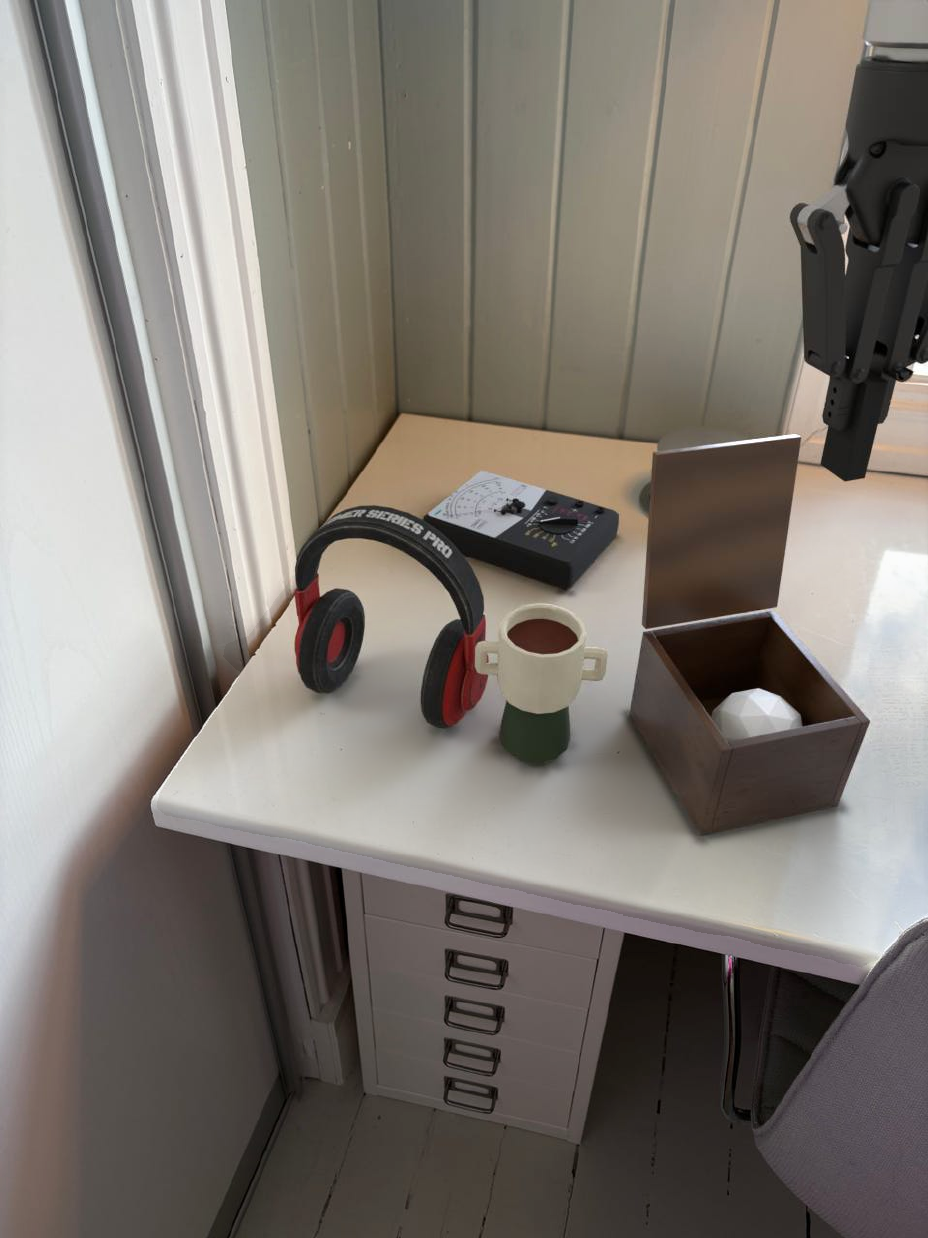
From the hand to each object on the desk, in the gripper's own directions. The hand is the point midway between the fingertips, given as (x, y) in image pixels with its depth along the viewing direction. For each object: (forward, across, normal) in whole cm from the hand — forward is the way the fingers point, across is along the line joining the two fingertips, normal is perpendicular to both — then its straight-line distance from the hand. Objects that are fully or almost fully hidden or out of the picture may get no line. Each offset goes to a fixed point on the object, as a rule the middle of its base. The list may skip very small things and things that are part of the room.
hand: (842, 470), depth 61 cm
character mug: (+29, +17, -11) cm, 36 cm away
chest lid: (+11, +1, -12) cm, 16 cm away
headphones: (+28, +28, -20) cm, 45 cm away
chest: (+30, +1, -5) cm, 30 cm away
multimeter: (+28, +7, -43) cm, 51 cm away
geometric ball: (+29, +1, -3) cm, 29 cm away
